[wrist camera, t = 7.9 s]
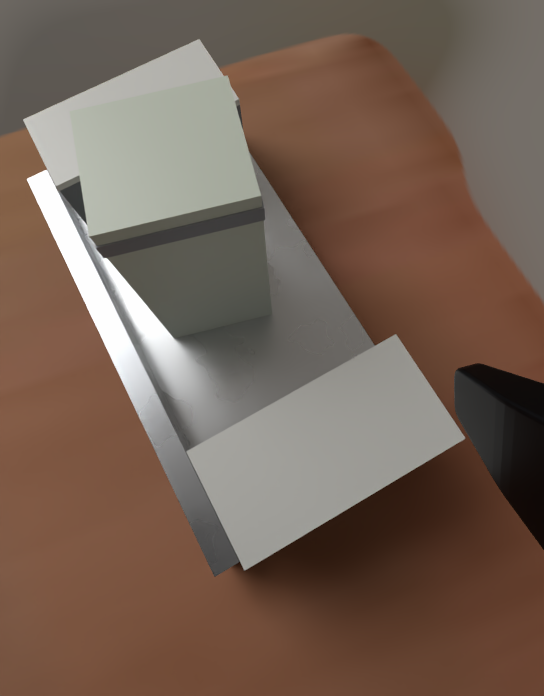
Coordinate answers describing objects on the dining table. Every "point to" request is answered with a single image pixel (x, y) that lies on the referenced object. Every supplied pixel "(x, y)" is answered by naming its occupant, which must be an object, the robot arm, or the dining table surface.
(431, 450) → the block
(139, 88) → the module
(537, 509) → the robot arm
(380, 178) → the dining table surface
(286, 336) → the grey base plate
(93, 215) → the block
